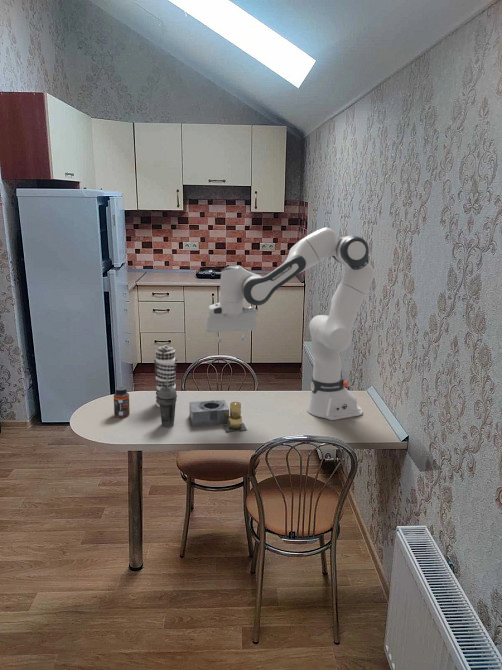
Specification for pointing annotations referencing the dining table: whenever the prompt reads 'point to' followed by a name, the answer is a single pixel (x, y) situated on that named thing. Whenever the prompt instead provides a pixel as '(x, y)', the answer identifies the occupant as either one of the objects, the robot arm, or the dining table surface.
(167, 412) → the beverage cup
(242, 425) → the mat
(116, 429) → the dining table surface
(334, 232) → the robot arm
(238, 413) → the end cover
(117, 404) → the supplement bottle
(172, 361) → the checkered thermos bottle
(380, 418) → the dining table surface
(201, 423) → the housing
